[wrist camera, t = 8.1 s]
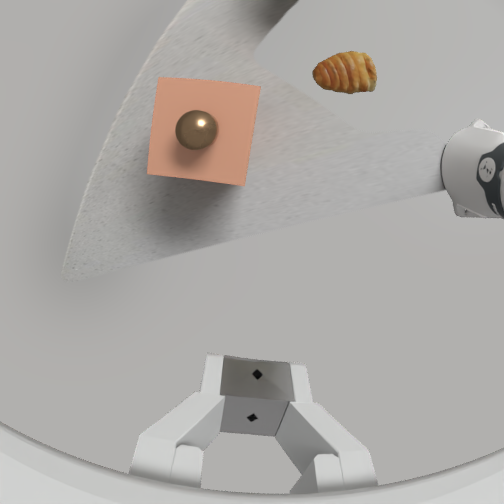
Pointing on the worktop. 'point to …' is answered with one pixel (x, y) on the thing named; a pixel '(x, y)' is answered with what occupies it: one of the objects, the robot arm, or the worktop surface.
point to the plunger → (196, 129)
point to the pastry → (346, 73)
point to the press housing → (229, 137)
